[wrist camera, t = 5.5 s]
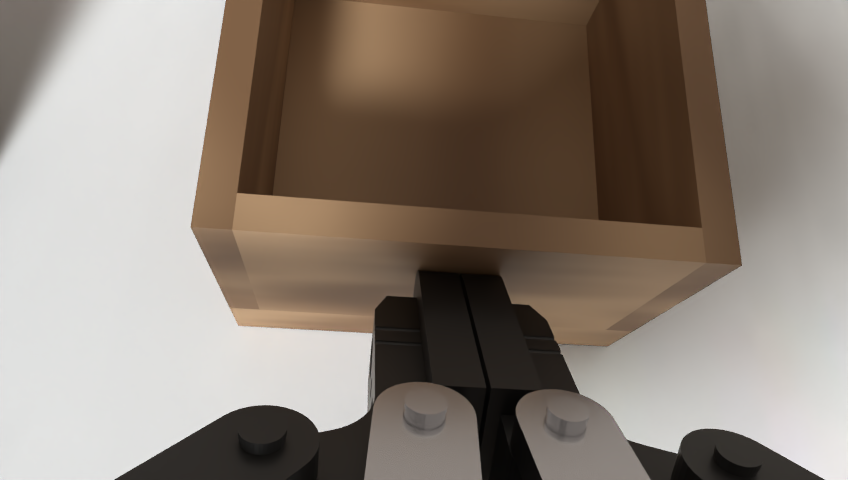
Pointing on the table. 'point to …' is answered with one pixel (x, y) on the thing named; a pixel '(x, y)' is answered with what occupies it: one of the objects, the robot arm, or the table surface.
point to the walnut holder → (465, 158)
